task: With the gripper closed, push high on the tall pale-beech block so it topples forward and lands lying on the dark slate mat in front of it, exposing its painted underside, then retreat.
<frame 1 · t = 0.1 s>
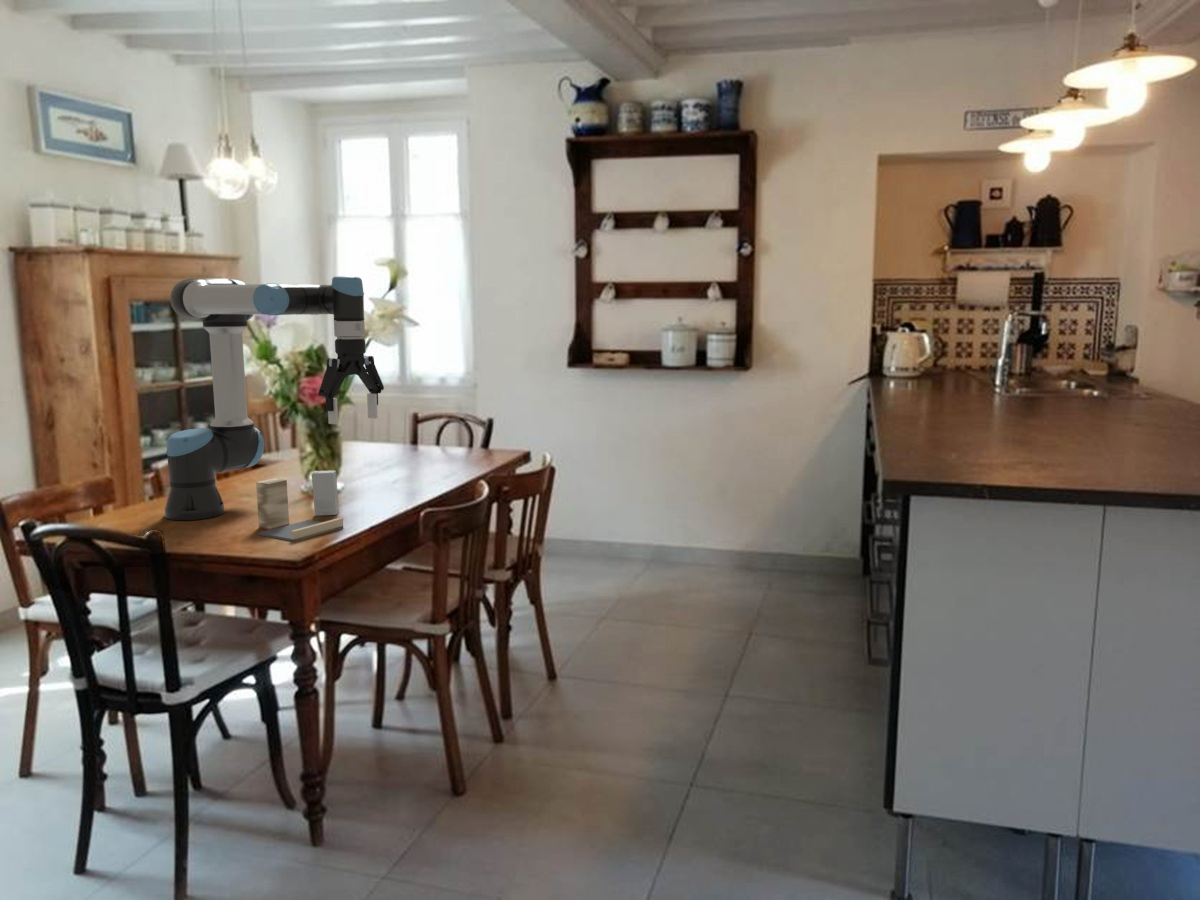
hand: (353, 421, 234), 28 cm above the table, fingers open, 13 cm apart
beech block: (274, 526, 239), on the table
skincare box: (326, 514, 253), on the table
slate mat: (301, 531, 234), on the table
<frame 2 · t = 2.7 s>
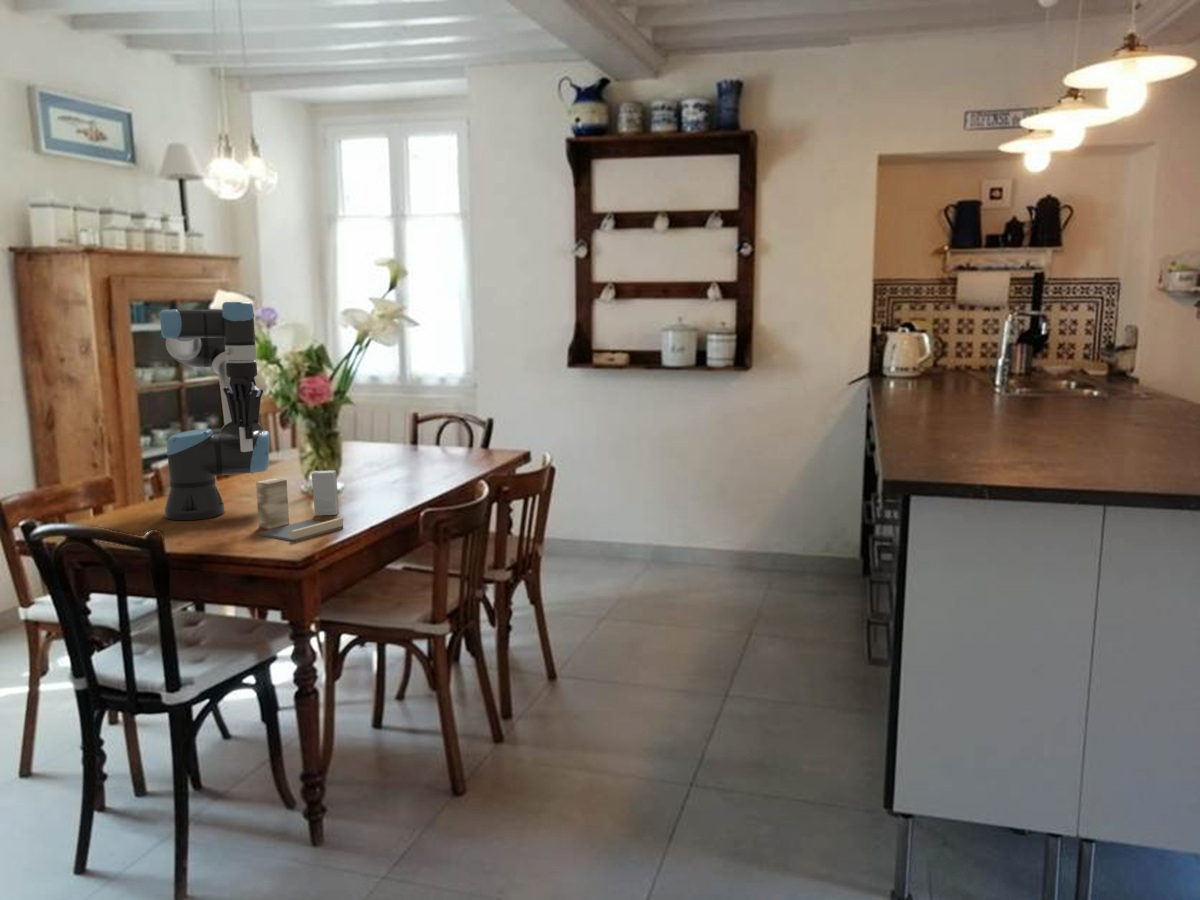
hand: (246, 451, 240), 19 cm above the table, fingers closed
nothing on the table moved.
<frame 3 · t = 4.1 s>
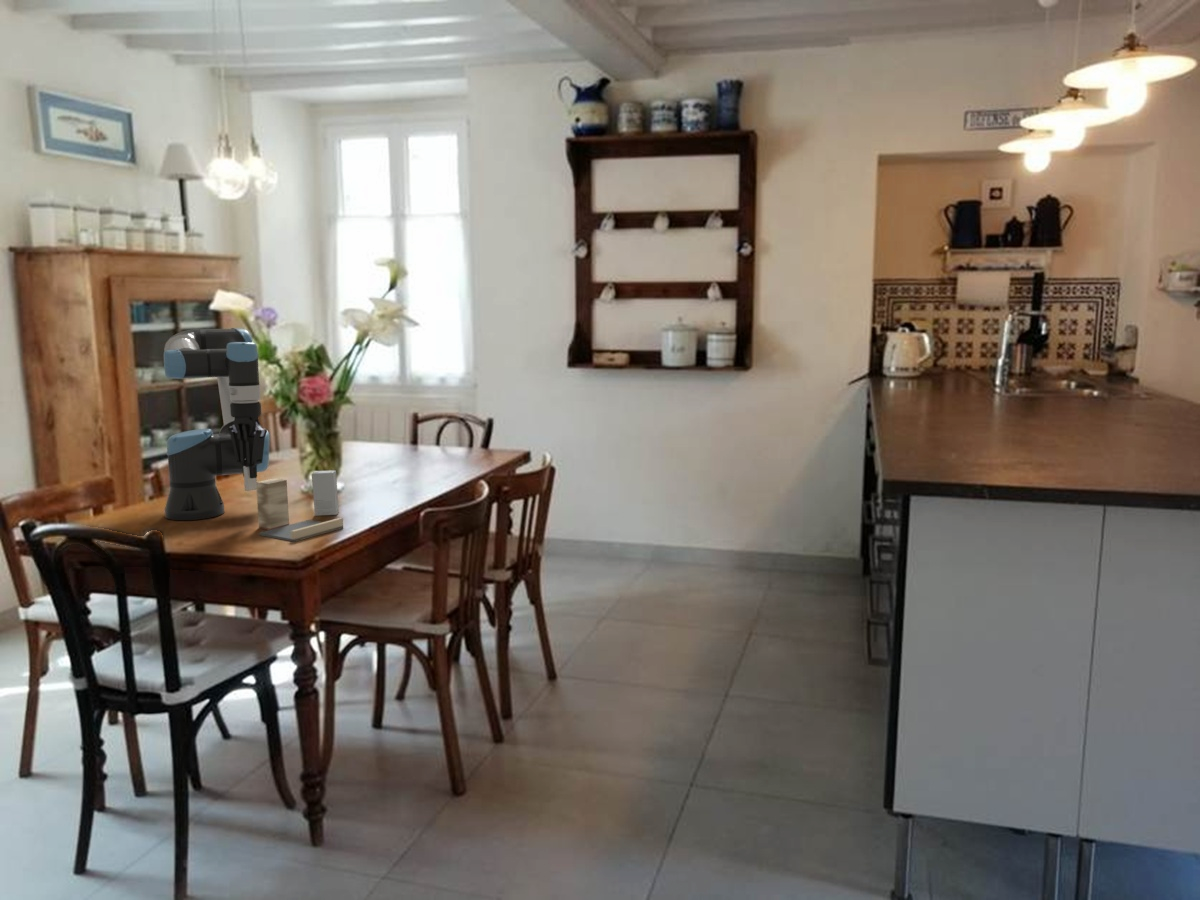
hand: (251, 489, 242), 9 cm above the table, fingers closed
nothing on the table moved.
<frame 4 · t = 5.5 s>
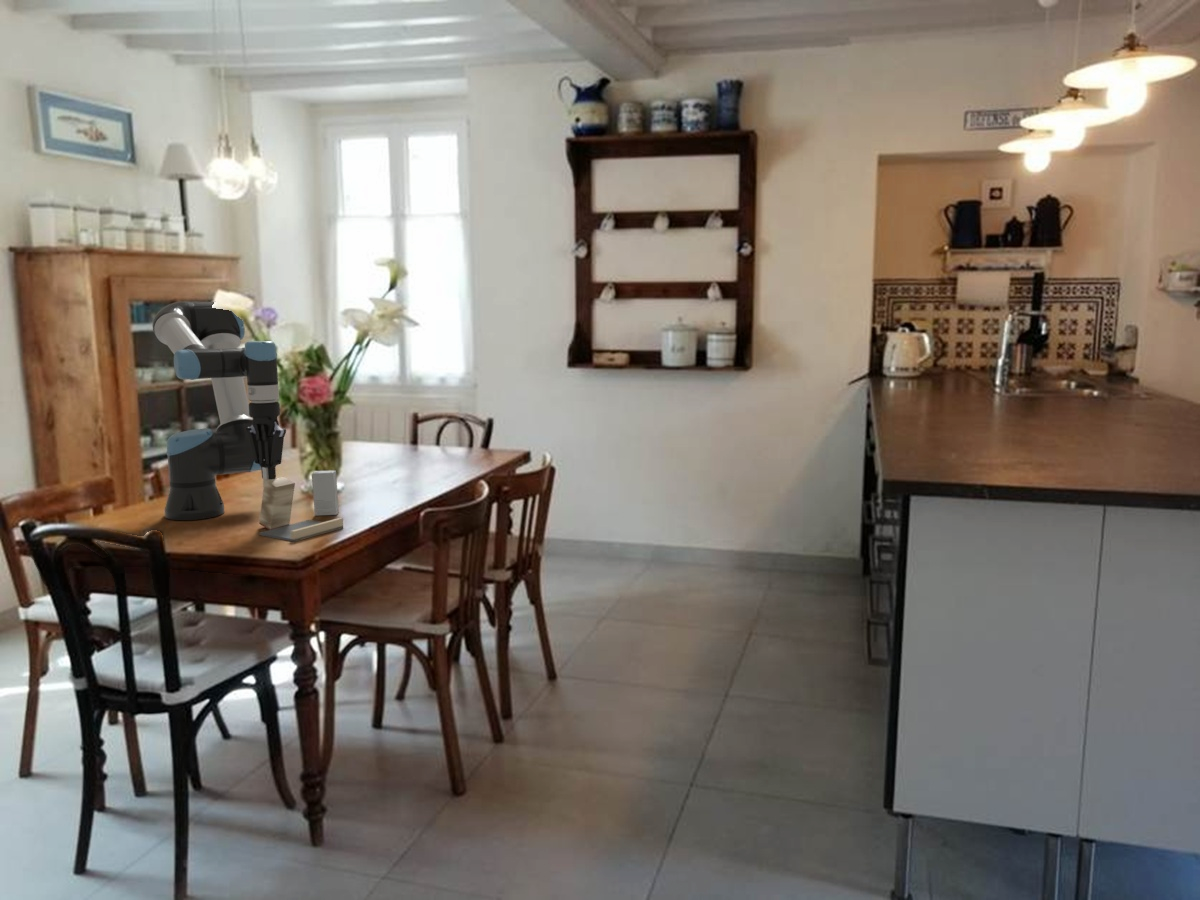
hand: (269, 491, 238), 9 cm above the table, fingers closed
beech block: (274, 524, 239), on the table, tilted 15°
everything else where it was.
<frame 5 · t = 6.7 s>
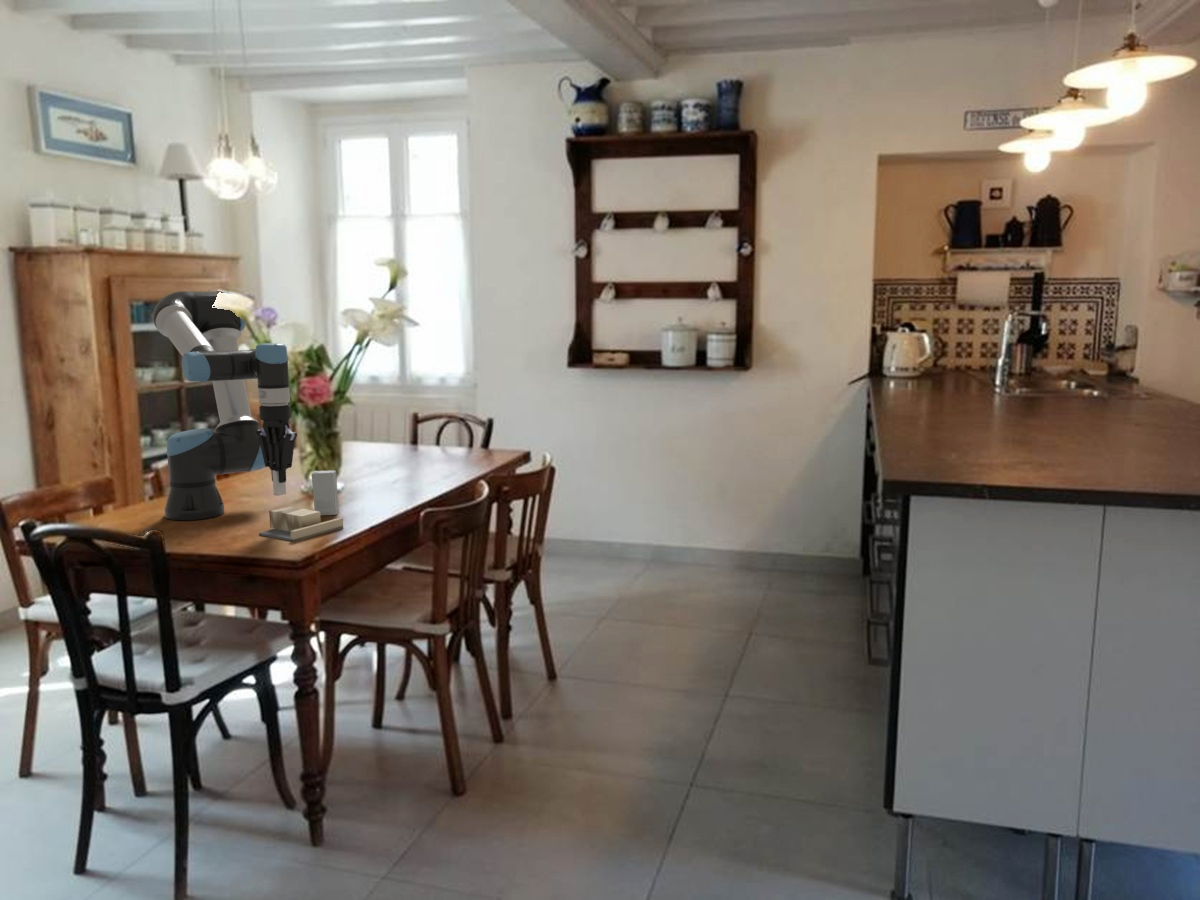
hand: (279, 494, 236), 9 cm above the table, fingers closed
beech block: (279, 516, 238), point 3 cm above the table, tilted 90°, touching slate mat
everything else where it was.
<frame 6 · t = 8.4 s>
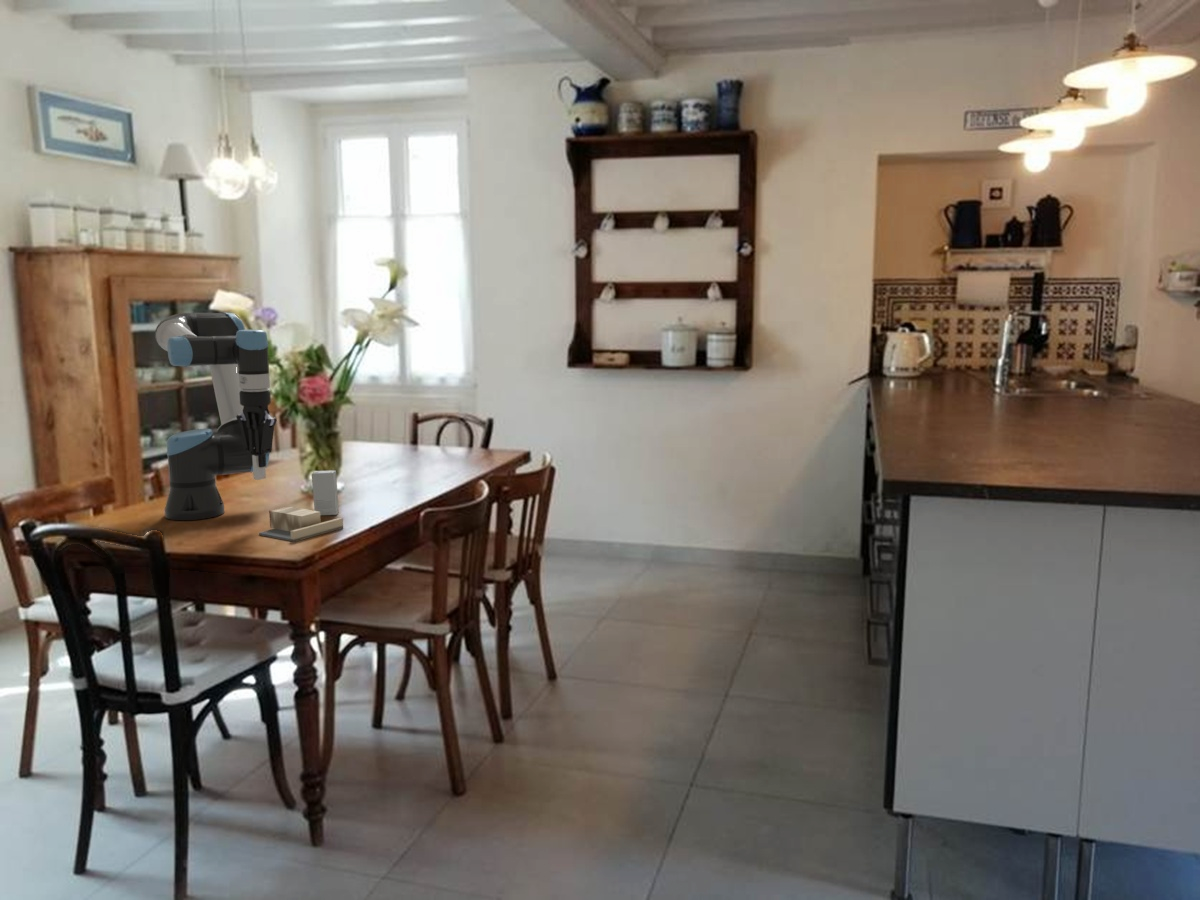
hand: (259, 478, 240), 12 cm above the table, fingers closed
nothing on the table moved.
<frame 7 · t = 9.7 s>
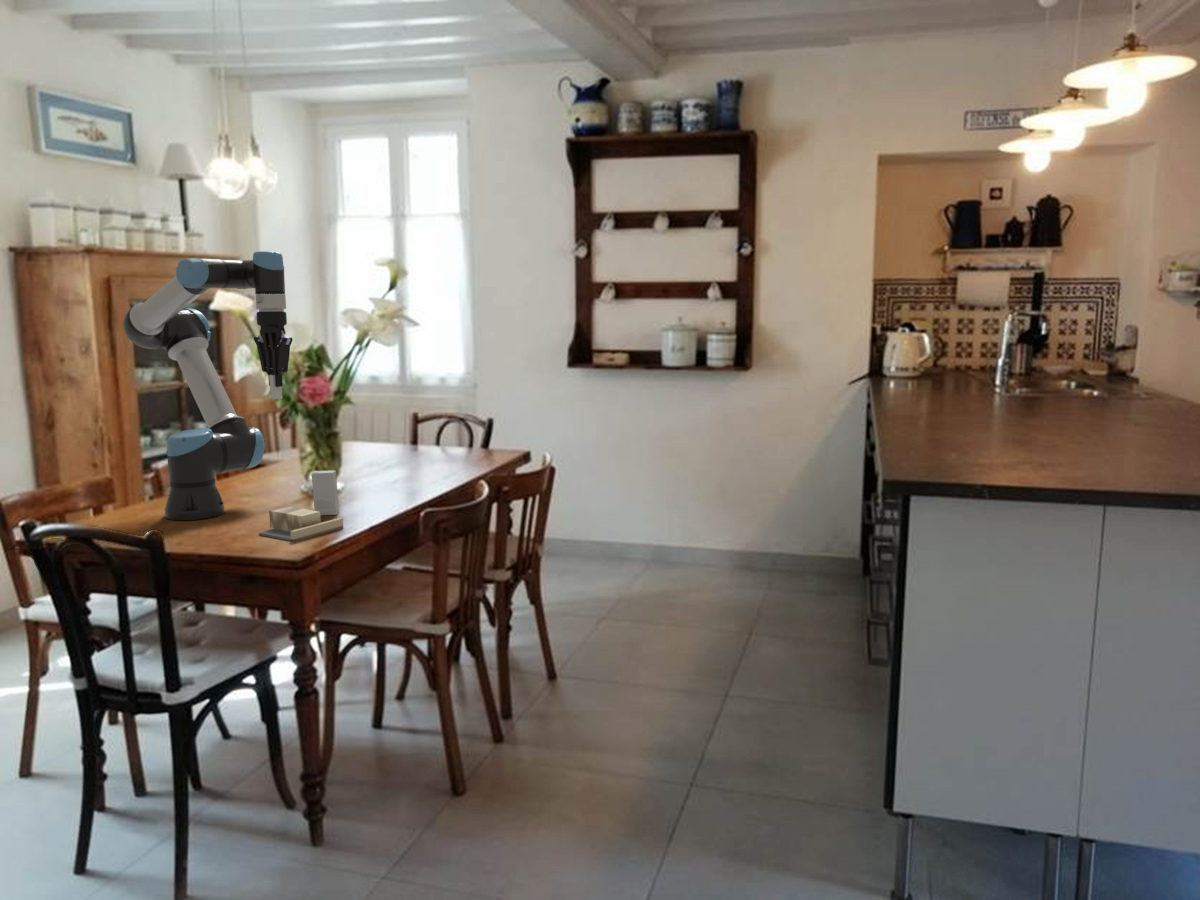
hand: (276, 398, 246), 32 cm above the table, fingers closed
nothing on the table moved.
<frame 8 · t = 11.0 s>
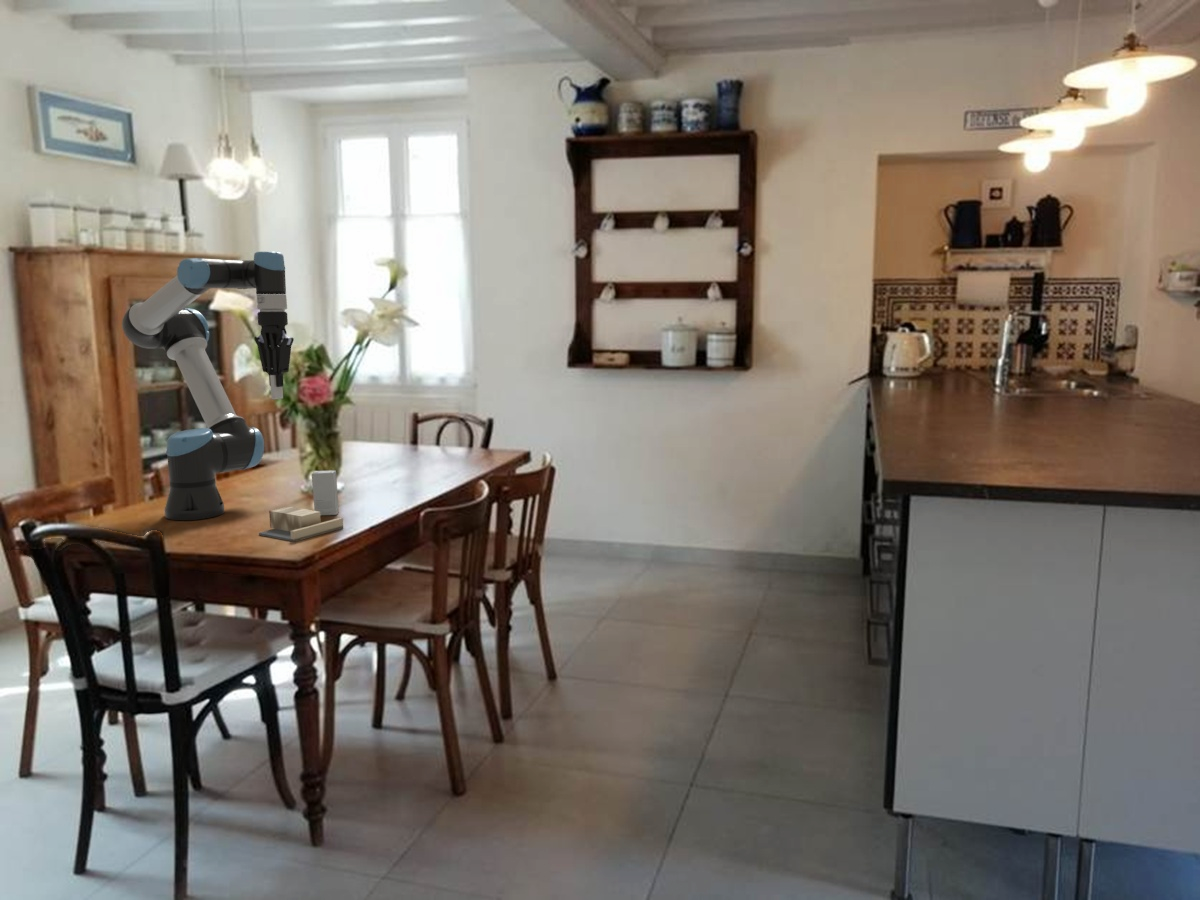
hand: (277, 398, 246), 32 cm above the table, fingers closed
nothing on the table moved.
at the end: beech block tilted 90°; beech block inside the target area (7.3 cm from its centre), point 2.8 cm above the table; beech block moved 3.6 cm from its start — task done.
